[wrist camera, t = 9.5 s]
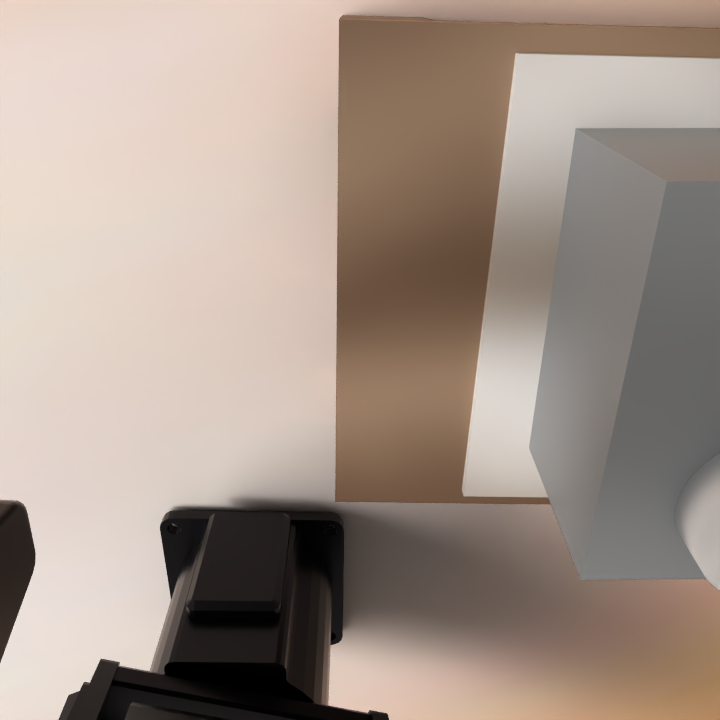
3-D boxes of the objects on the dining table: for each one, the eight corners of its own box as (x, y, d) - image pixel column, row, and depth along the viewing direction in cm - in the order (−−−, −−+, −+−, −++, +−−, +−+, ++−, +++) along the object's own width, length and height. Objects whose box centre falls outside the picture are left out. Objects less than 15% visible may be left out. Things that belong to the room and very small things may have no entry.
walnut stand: (813, 429, 22) (906, 515, 19) (338, 421, 22) (335, 508, 18) (979, 32, 17) (1163, 41, 13) (342, 15, 16) (338, 20, 13)
